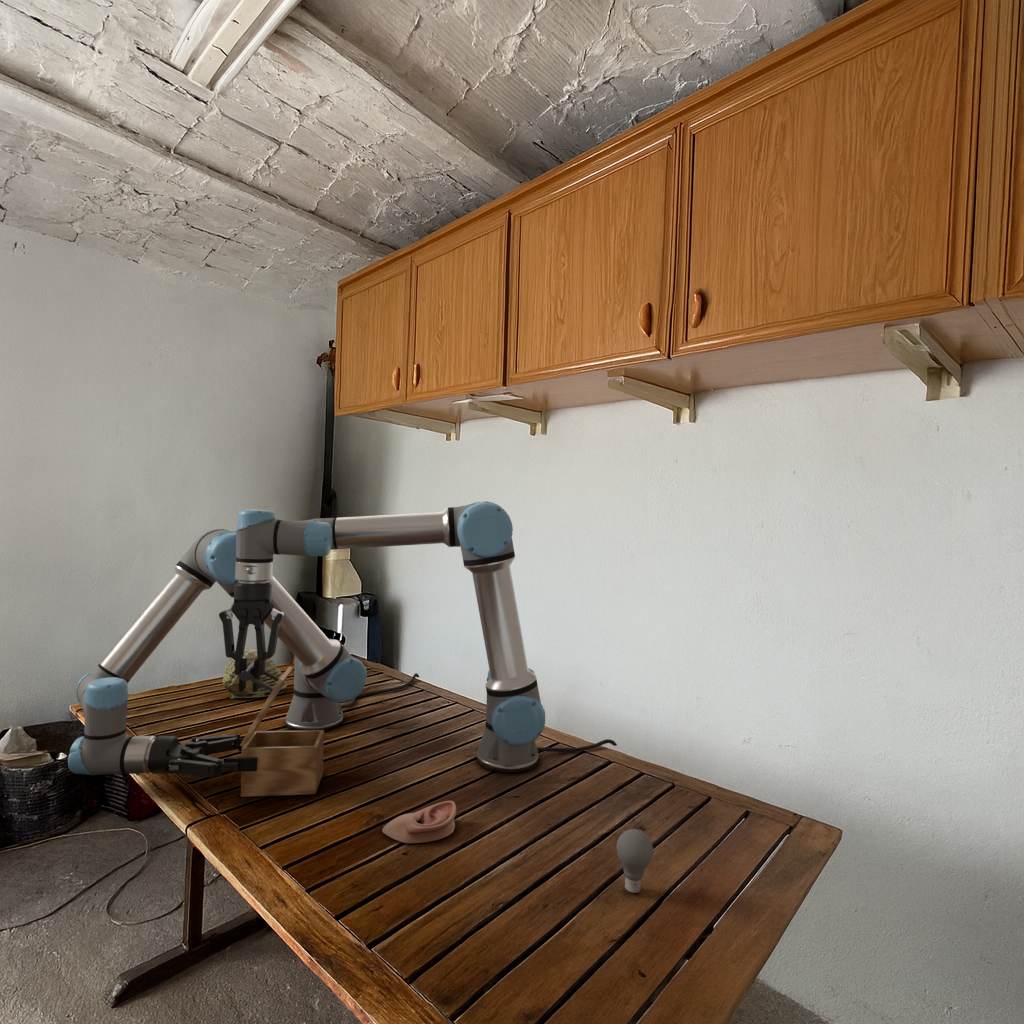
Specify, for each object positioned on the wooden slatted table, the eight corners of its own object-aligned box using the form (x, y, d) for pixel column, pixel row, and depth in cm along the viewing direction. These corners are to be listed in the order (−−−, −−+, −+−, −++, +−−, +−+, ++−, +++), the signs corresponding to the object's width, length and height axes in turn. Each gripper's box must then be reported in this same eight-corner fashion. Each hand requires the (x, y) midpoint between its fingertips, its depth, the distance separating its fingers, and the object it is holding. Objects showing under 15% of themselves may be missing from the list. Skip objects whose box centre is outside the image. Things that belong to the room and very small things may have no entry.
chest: (322, 773, 144) (323, 729, 144) (315, 794, 134) (316, 747, 134) (253, 776, 142) (254, 731, 142) (240, 796, 132) (241, 748, 132)
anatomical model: (376, 817, 118) (399, 790, 129) (375, 838, 118) (398, 809, 129) (444, 828, 115) (461, 799, 127) (443, 849, 115) (461, 819, 127)
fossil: (218, 695, 195) (220, 647, 195) (278, 685, 208) (279, 640, 207) (228, 703, 189) (230, 653, 188) (289, 692, 201) (290, 645, 201)
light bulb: (610, 879, 108) (613, 822, 108) (644, 879, 109) (647, 822, 109) (619, 902, 102) (622, 840, 102) (655, 901, 103) (658, 840, 103)
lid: (293, 667, 143) (259, 650, 142) (283, 680, 133) (247, 661, 132) (256, 730, 142) (222, 712, 141) (243, 747, 132) (206, 729, 131)
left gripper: (174, 751, 146) (274, 750, 149) (128, 797, 123) (248, 795, 126) (175, 718, 145) (276, 718, 149) (130, 759, 123) (249, 757, 126)
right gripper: (210, 582, 132) (206, 694, 132) (286, 584, 134) (281, 695, 134) (221, 577, 139) (217, 684, 139) (293, 580, 141) (289, 684, 141)
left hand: (263, 753), depth 137 cm, fingers closed on chest, 10 cm apart
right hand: (249, 689), depth 137 cm, fingers closed on lid, 2 cm apart
